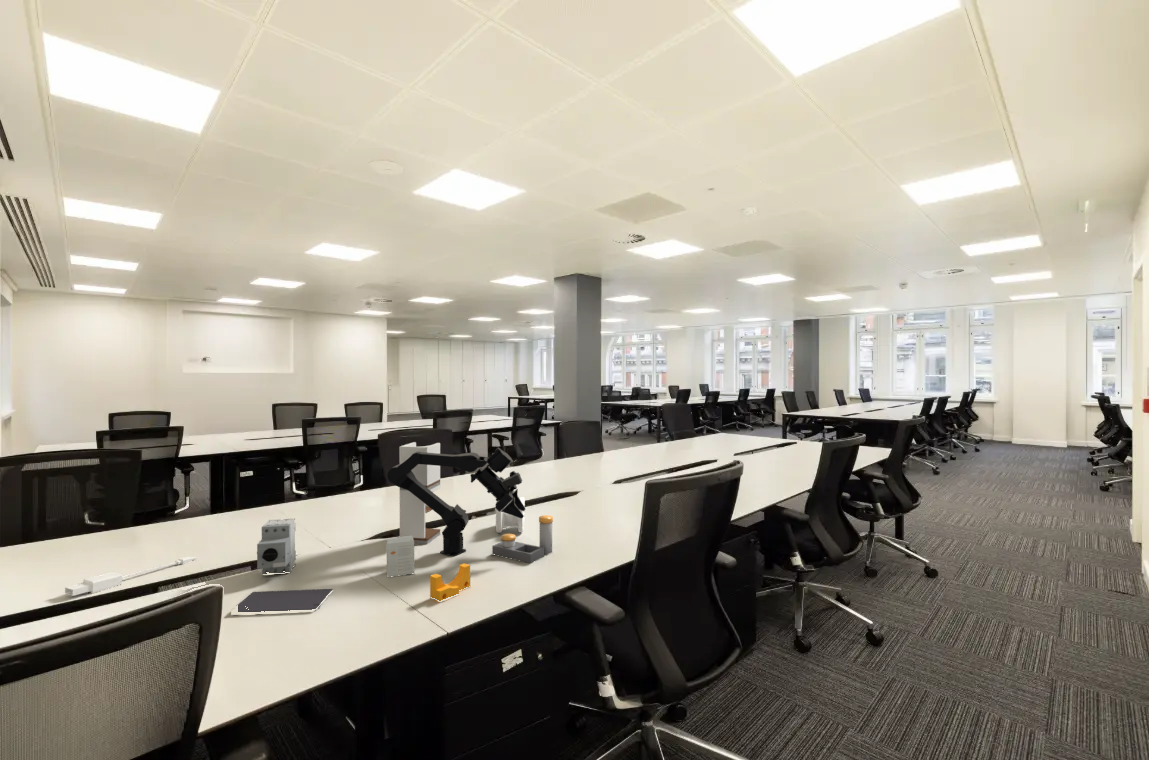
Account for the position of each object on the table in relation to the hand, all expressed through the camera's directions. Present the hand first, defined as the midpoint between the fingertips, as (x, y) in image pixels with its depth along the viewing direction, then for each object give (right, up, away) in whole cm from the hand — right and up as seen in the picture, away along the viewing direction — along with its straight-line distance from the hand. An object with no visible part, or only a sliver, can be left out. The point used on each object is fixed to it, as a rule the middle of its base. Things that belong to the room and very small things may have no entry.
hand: (523, 513), depth 182 cm
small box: (-36, -14, -19) cm, 43 cm away
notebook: (-61, -15, -41) cm, 74 cm away
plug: (+8, -13, +1) cm, 15 cm away
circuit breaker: (-74, -14, -20) cm, 78 cm away
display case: (-40, -13, +15) cm, 44 cm away
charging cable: (-115, -14, -23) cm, 118 cm away
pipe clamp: (-17, -14, -34) cm, 40 cm away
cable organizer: (-8, -13, +26) cm, 30 cm away
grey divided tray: (-2, -13, -3) cm, 14 cm away
